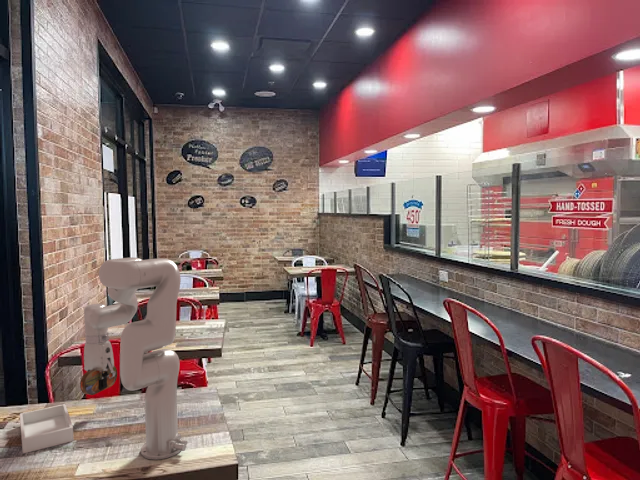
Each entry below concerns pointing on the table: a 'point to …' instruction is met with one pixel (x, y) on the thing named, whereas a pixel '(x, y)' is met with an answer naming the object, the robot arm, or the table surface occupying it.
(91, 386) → the tin
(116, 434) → the table surface
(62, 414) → the tote
